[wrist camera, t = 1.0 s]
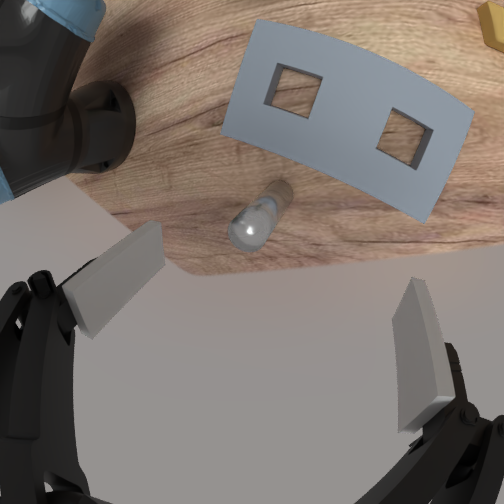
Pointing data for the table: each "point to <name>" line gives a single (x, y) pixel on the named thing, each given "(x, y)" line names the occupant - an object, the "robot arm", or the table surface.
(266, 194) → the pin
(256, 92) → the socket board
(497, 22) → the rubber stamp
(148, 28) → the table surface
